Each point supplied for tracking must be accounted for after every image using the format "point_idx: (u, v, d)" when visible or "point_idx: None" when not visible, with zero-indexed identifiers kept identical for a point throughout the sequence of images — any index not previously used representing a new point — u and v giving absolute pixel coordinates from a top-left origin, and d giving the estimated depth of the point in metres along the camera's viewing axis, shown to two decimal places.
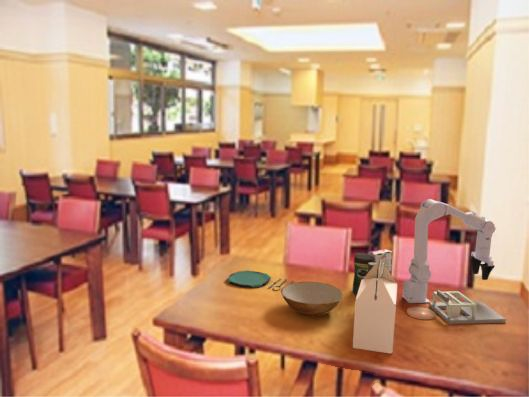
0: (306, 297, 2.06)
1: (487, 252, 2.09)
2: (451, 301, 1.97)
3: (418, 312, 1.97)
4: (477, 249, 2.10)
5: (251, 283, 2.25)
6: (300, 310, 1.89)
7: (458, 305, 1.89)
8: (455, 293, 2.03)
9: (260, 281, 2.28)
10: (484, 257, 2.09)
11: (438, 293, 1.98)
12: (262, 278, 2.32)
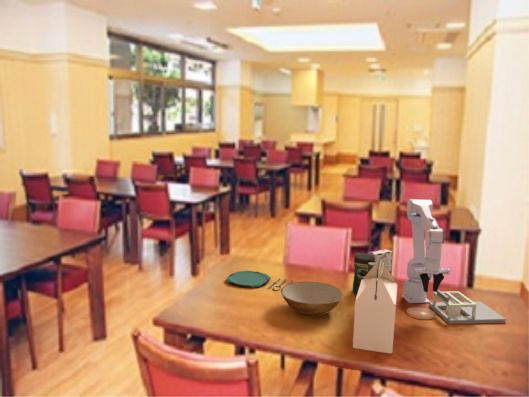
0: (306, 297, 2.06)
1: (426, 263, 1.92)
2: (451, 301, 1.97)
3: (418, 312, 1.97)
4: None
5: (251, 283, 2.25)
6: (300, 310, 1.89)
7: (458, 305, 1.89)
8: (455, 293, 2.03)
9: (260, 281, 2.28)
10: (424, 268, 1.93)
11: (438, 293, 1.98)
12: (262, 278, 2.32)
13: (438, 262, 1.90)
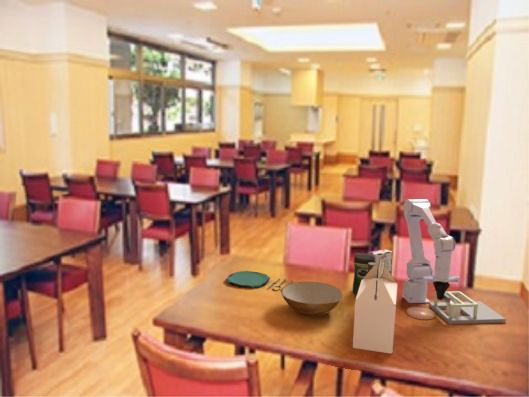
0: (306, 297, 2.06)
1: (436, 271, 1.93)
2: (451, 301, 1.97)
3: (418, 312, 1.97)
4: None
5: (251, 283, 2.25)
6: (300, 310, 1.89)
7: (460, 305, 1.89)
8: (456, 293, 2.03)
9: (260, 282, 2.28)
10: (434, 275, 1.94)
11: None
12: (261, 278, 2.32)
13: (448, 270, 1.91)
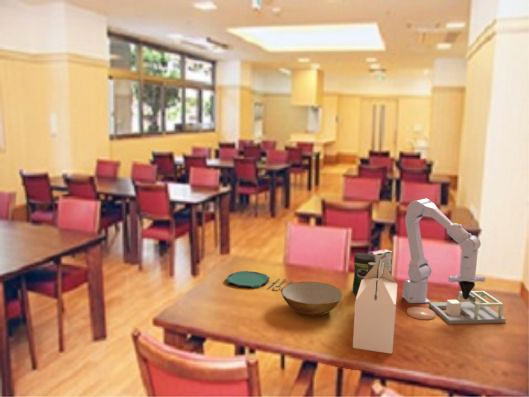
0: (306, 297, 2.06)
1: (462, 271, 1.94)
2: (451, 301, 1.97)
3: (418, 312, 1.97)
4: None
5: (250, 283, 2.25)
6: (300, 310, 1.89)
7: (485, 304, 1.91)
8: (480, 292, 2.04)
9: (260, 282, 2.27)
10: (459, 275, 1.95)
11: None
12: (261, 278, 2.32)
13: (474, 270, 1.92)
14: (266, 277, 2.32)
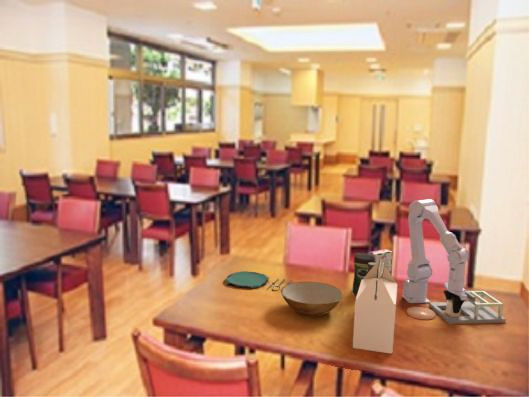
0: (306, 297, 2.06)
1: (460, 285, 1.92)
2: (451, 301, 1.96)
3: (418, 312, 1.97)
4: (450, 281, 1.94)
5: (250, 284, 2.24)
6: (300, 310, 1.89)
7: (485, 304, 1.90)
8: (480, 292, 2.04)
9: (259, 282, 2.27)
10: (457, 290, 1.93)
11: None
12: (260, 278, 2.32)
13: None
14: (265, 277, 2.32)
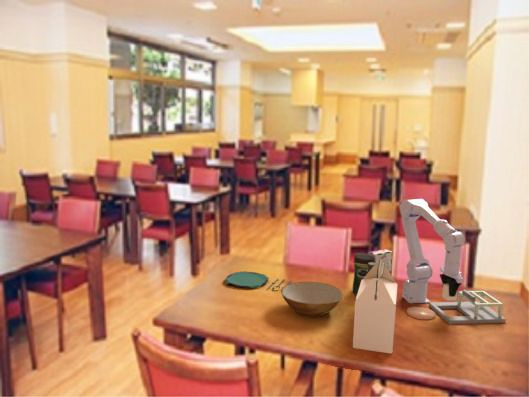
0: (306, 297, 2.06)
1: (456, 268, 1.91)
2: (448, 285, 1.95)
3: (418, 312, 1.97)
4: (446, 264, 1.93)
5: (250, 284, 2.24)
6: (300, 310, 1.89)
7: (485, 304, 1.90)
8: (480, 292, 2.04)
9: (259, 282, 2.27)
10: (453, 273, 1.91)
11: (464, 292, 1.99)
12: (260, 279, 2.31)
13: None
14: (265, 277, 2.31)
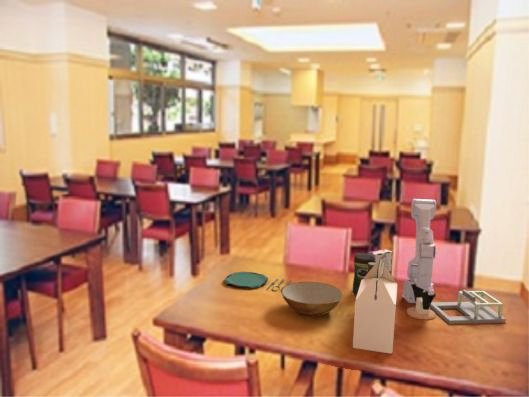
0: (306, 297, 2.06)
1: (428, 279, 1.92)
2: (420, 299, 1.96)
3: None
4: (418, 276, 1.93)
5: (249, 284, 2.24)
6: (300, 310, 1.89)
7: (485, 304, 1.90)
8: (480, 292, 2.04)
9: (258, 282, 2.27)
10: (425, 285, 1.92)
11: (464, 292, 1.99)
12: (259, 279, 2.31)
13: None
14: (264, 277, 2.31)
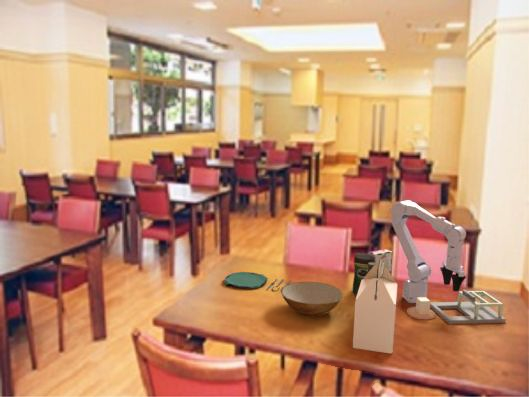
0: (306, 297, 2.06)
1: (458, 262, 1.96)
2: (420, 299, 1.96)
3: None
4: (448, 258, 1.98)
5: (249, 284, 2.24)
6: (300, 310, 1.89)
7: (485, 304, 1.90)
8: (480, 292, 2.04)
9: (258, 282, 2.26)
10: (455, 267, 1.96)
11: (464, 292, 1.99)
12: (259, 279, 2.31)
13: None
14: (264, 277, 2.31)
